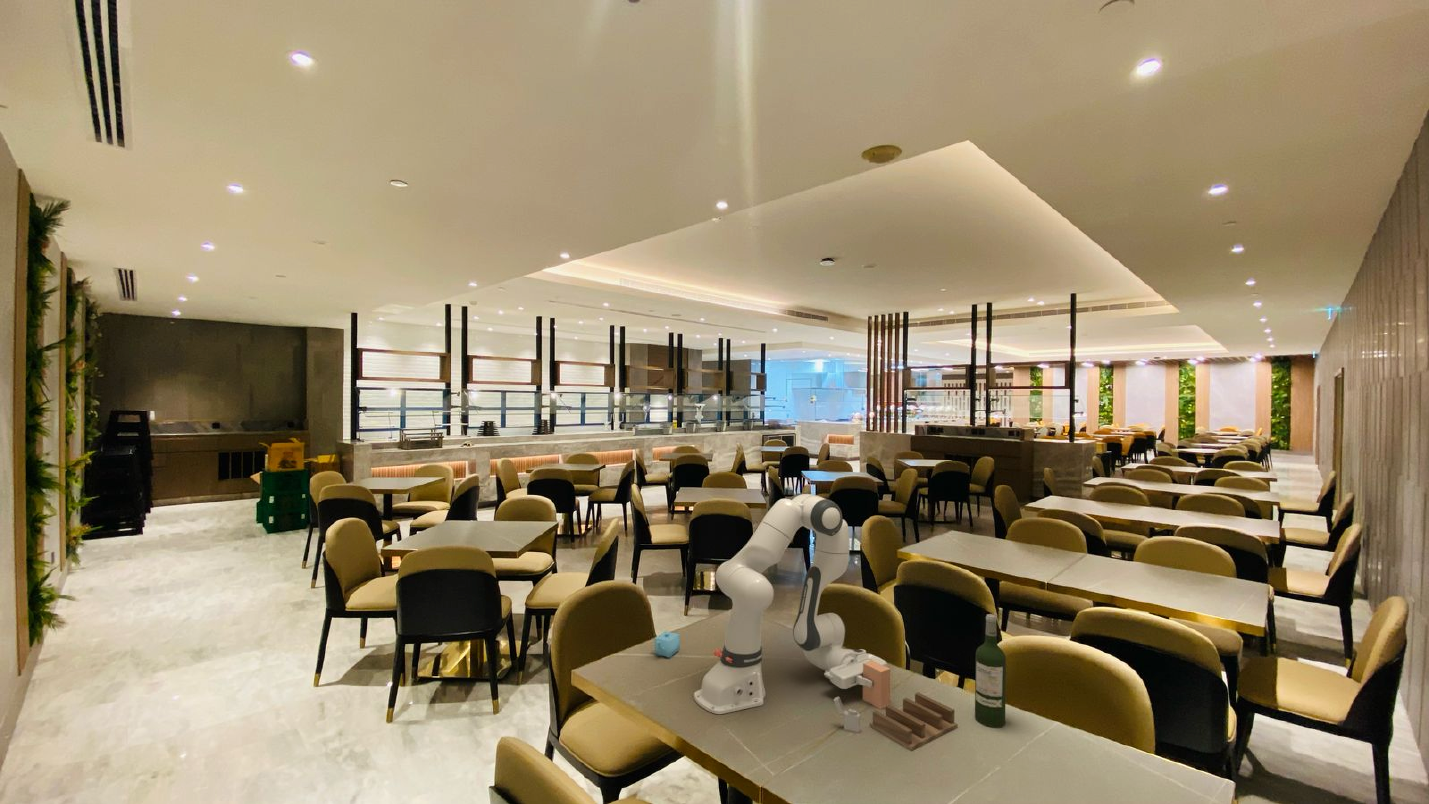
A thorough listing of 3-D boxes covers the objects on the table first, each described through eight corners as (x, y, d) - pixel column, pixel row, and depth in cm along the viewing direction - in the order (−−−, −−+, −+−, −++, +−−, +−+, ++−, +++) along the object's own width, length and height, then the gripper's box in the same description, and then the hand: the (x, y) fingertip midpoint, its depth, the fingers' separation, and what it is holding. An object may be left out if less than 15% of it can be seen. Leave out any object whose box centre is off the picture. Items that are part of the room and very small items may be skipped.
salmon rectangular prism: (880, 709, 179) (881, 672, 179) (862, 699, 185) (863, 663, 185) (889, 705, 182) (890, 668, 181) (871, 695, 187) (871, 660, 187)
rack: (911, 750, 158) (911, 733, 158) (869, 726, 170) (869, 710, 170) (957, 727, 170) (957, 711, 170) (915, 706, 181) (915, 691, 181)
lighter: (860, 729, 168) (860, 700, 168) (858, 732, 167) (859, 703, 167) (834, 723, 171) (834, 695, 171) (833, 726, 170) (833, 698, 170)
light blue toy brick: (664, 663, 209) (664, 641, 209) (649, 659, 212) (649, 638, 212) (681, 650, 220) (681, 629, 219) (667, 647, 222) (667, 626, 222)
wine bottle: (975, 724, 171) (977, 618, 171) (974, 711, 179) (975, 609, 178) (1006, 730, 168) (1008, 622, 168) (1003, 716, 176) (1005, 612, 176)
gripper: (820, 663, 188) (854, 680, 177) (866, 647, 200) (900, 663, 188) (820, 683, 188) (854, 702, 177) (865, 667, 200) (900, 683, 188)
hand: (878, 681), depth 182 cm, fingers closed on salmon rectangular prism, 4 cm apart
